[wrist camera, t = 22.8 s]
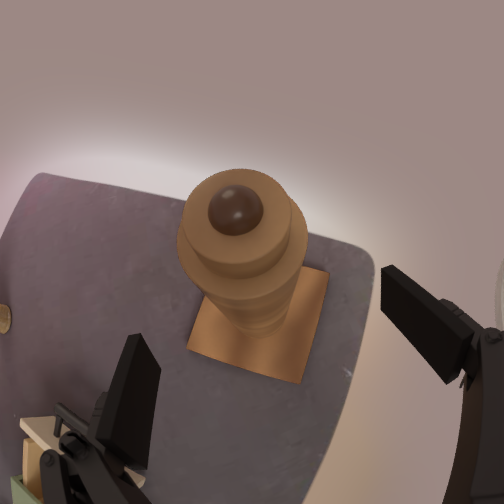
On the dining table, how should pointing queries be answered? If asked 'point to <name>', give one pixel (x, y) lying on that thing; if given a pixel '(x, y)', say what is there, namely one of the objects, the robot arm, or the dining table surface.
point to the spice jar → (4, 318)
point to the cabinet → (22, 492)
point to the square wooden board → (271, 348)
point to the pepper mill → (244, 248)
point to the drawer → (51, 444)
